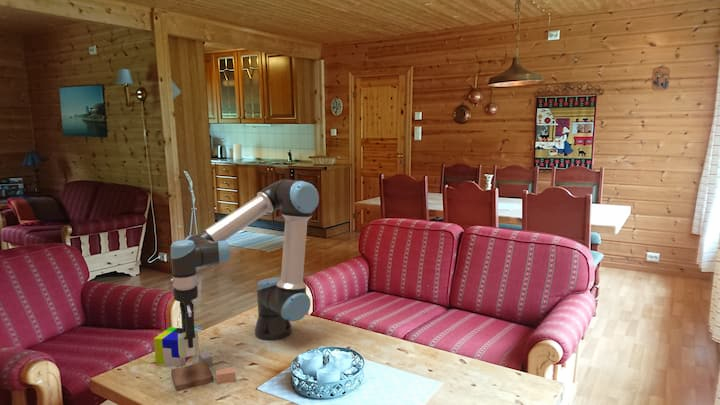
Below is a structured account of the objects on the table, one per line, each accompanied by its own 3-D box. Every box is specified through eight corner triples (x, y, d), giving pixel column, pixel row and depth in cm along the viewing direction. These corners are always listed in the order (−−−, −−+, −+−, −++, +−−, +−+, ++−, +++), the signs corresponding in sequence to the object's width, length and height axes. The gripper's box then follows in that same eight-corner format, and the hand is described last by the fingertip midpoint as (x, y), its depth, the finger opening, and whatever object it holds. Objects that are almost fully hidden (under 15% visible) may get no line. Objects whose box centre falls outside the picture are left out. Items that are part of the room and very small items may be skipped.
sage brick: (197, 349, 167) (196, 330, 166) (199, 354, 163) (198, 335, 162) (178, 353, 164) (177, 334, 163) (180, 358, 161) (179, 338, 160)
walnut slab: (207, 366, 174) (206, 361, 173) (213, 381, 163) (213, 376, 163) (171, 374, 168) (171, 369, 168) (176, 391, 158) (175, 385, 157)
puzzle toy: (180, 366, 174) (178, 340, 172) (156, 364, 176) (153, 338, 174) (195, 353, 184) (193, 329, 182) (171, 351, 186) (169, 327, 184)
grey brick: (198, 361, 178) (198, 352, 177) (208, 358, 180) (207, 349, 179) (203, 368, 173) (202, 358, 172) (212, 365, 175) (212, 356, 174)
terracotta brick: (235, 376, 167) (234, 367, 166) (235, 381, 163) (235, 372, 163) (217, 379, 165) (216, 370, 164) (217, 384, 162) (216, 375, 161)
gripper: (170, 281, 166) (174, 345, 170) (176, 296, 151) (181, 366, 155) (192, 278, 170) (197, 340, 173) (201, 292, 155) (205, 360, 158)
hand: (189, 352), depth 164 cm, fingers closed on sage brick, 4 cm apart
